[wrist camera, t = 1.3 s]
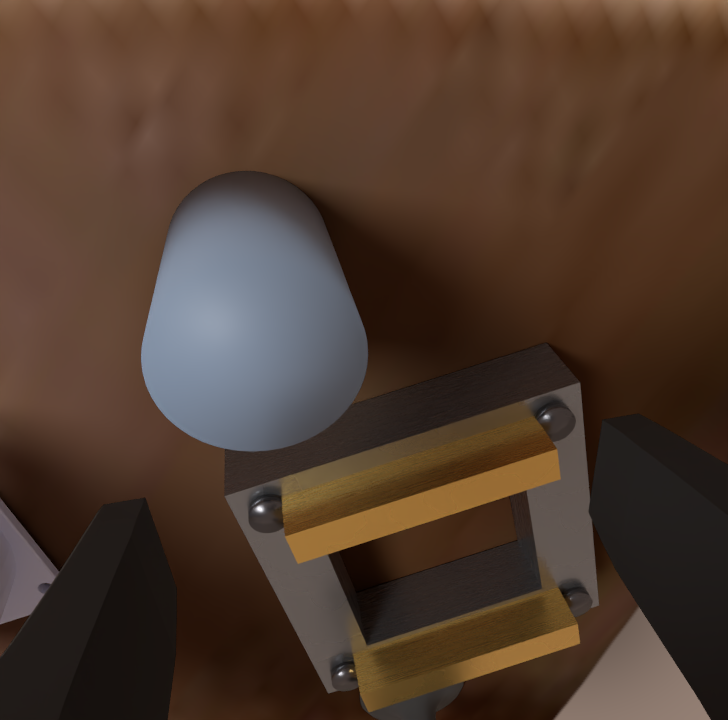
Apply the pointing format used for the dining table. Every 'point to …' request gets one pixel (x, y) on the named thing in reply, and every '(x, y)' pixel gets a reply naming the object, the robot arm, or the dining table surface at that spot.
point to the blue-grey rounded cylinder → (252, 318)
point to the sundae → (418, 705)
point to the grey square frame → (424, 504)
